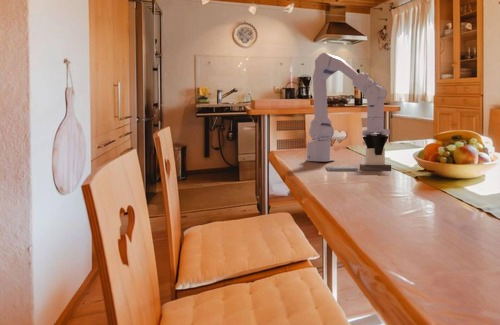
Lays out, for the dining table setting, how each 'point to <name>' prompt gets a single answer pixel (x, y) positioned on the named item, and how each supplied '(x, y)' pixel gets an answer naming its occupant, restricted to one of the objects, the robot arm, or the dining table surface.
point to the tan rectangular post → (374, 157)
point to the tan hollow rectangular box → (375, 167)
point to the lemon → (421, 154)
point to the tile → (341, 168)
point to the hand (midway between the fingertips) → (374, 154)
